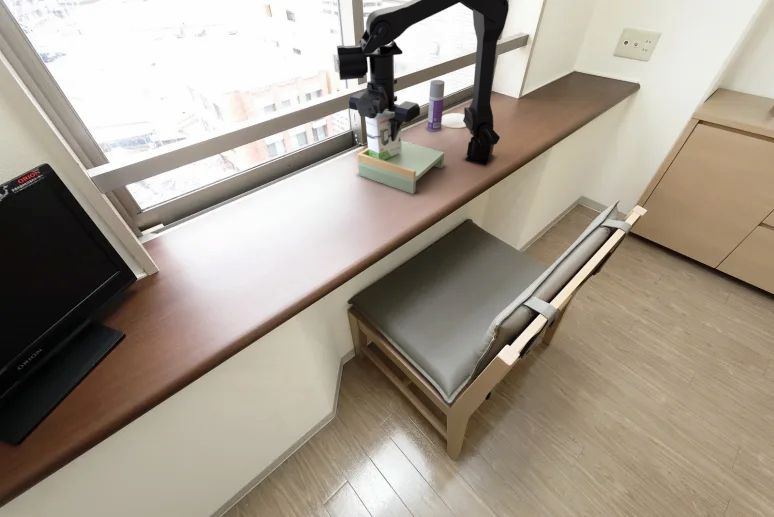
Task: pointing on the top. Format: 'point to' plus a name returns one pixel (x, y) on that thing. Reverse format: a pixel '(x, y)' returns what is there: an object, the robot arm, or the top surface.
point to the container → (435, 105)
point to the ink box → (382, 137)
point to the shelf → (400, 166)
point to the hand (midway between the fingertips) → (384, 138)
